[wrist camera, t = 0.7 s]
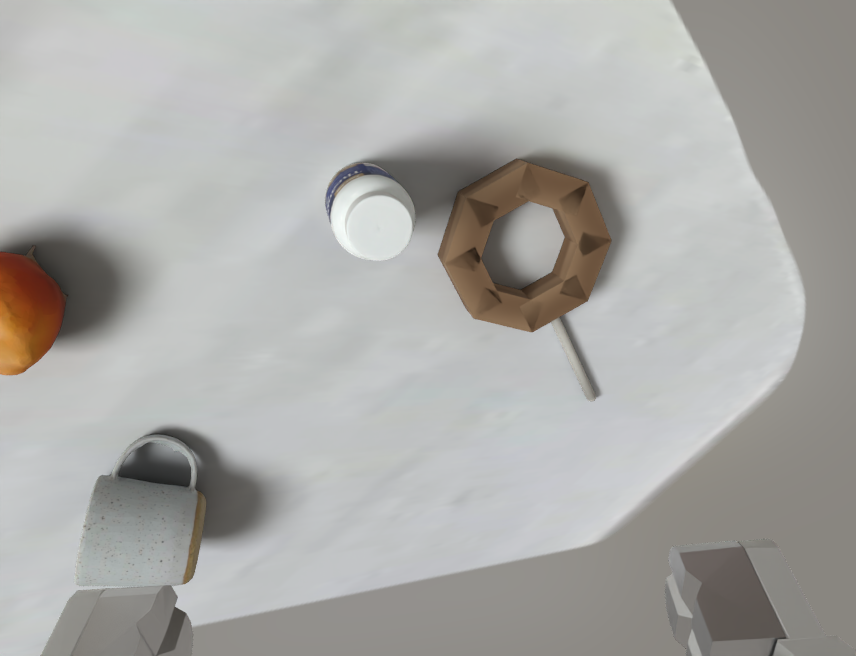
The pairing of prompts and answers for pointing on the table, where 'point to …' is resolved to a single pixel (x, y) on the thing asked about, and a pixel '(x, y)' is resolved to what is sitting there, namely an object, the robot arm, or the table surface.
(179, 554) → the ceramic mug
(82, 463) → the table surface
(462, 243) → the walnut ring
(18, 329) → the fruit
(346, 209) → the pill bottle
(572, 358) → the grey rod
